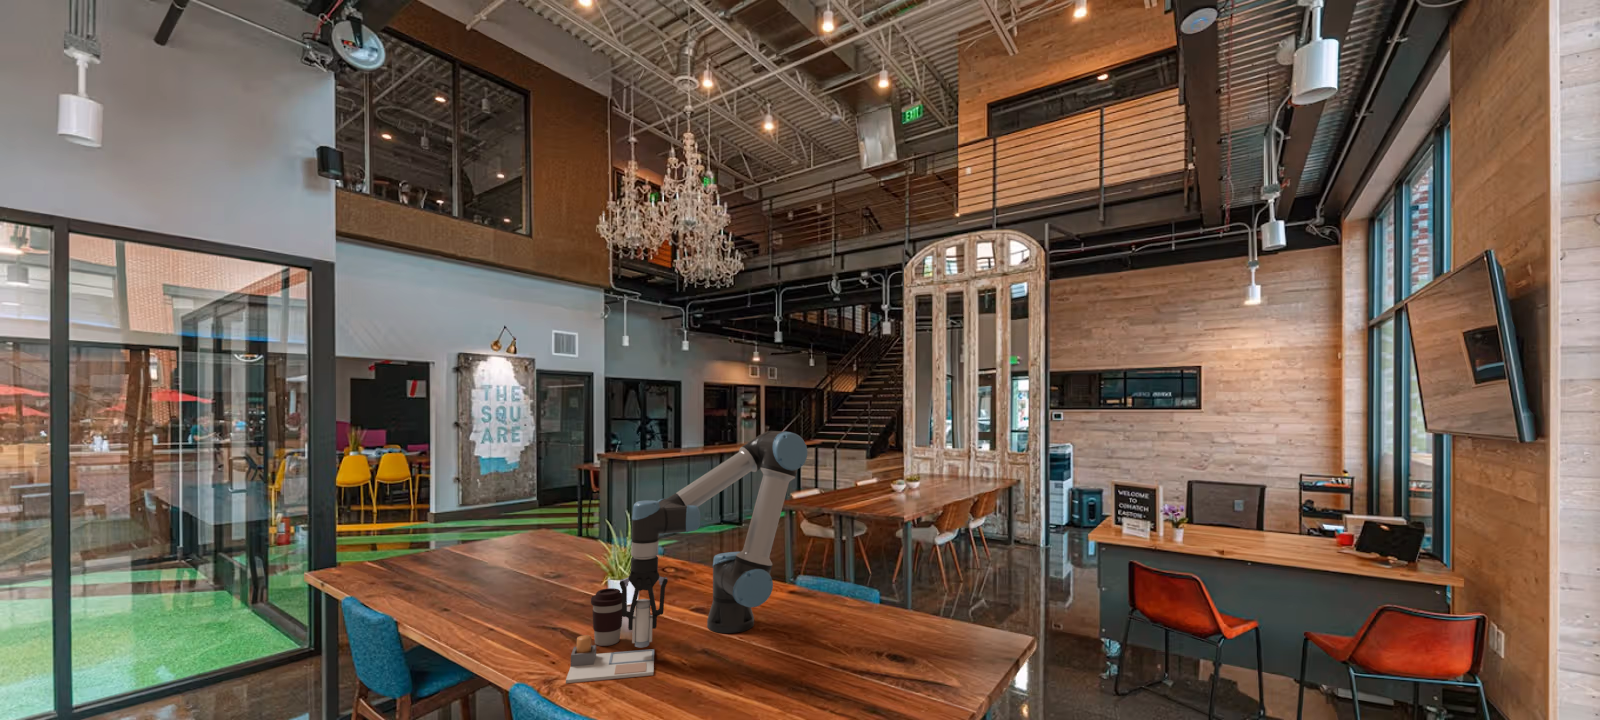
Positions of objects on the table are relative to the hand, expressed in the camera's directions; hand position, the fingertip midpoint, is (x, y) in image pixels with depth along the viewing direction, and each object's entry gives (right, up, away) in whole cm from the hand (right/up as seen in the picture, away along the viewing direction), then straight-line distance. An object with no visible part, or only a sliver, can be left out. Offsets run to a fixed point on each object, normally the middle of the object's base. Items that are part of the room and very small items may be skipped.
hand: (642, 640), depth 175 cm
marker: (0, -1, 0) cm, 1 cm away
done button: (-15, -3, -4) cm, 16 cm away
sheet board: (-7, -5, -5) cm, 10 cm away
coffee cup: (-14, -6, +13) cm, 20 cm away
